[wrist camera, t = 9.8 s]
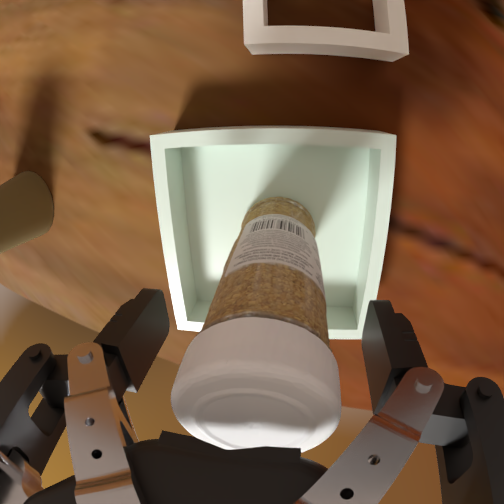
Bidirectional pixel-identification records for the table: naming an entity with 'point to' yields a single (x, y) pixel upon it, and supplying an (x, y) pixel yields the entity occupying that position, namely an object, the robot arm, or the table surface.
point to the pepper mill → (24, 210)
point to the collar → (329, 34)
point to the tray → (274, 185)
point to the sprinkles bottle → (264, 342)
